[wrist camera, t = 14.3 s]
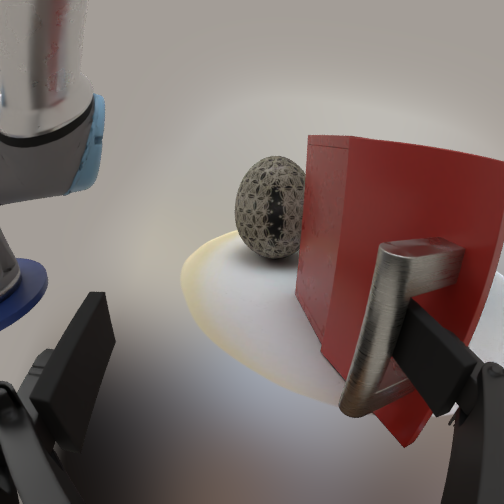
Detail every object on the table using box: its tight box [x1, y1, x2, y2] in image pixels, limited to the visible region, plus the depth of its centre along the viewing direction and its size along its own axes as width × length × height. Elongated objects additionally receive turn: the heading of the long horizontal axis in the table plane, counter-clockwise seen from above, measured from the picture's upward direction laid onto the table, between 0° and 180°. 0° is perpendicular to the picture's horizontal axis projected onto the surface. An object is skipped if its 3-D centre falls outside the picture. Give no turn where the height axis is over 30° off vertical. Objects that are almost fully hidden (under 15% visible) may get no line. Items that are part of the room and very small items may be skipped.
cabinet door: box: [321, 137, 504, 448], centre depth 16 cm, size 6×12×18 cm, turn 19°
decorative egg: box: [235, 156, 306, 259], centre depth 44 cm, size 12×12×15 cm
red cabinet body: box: [295, 135, 368, 344], centre depth 29 cm, size 10×12×18 cm
